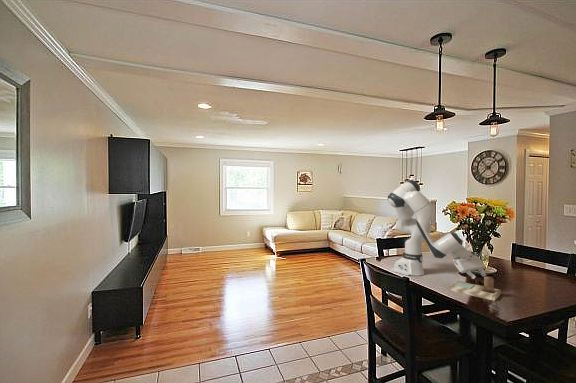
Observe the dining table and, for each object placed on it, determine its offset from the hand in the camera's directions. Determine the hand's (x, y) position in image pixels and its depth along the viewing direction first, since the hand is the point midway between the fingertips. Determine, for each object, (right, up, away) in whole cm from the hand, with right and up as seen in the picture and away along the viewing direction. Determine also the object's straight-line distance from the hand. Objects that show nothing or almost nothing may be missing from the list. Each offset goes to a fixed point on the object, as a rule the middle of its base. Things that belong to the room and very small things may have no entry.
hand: (479, 277), depth 159 cm
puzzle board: (-2, -9, +2) cm, 10 cm away
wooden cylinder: (+3, -9, -3) cm, 10 cm away
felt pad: (-5, -7, +6) cm, 10 cm away
